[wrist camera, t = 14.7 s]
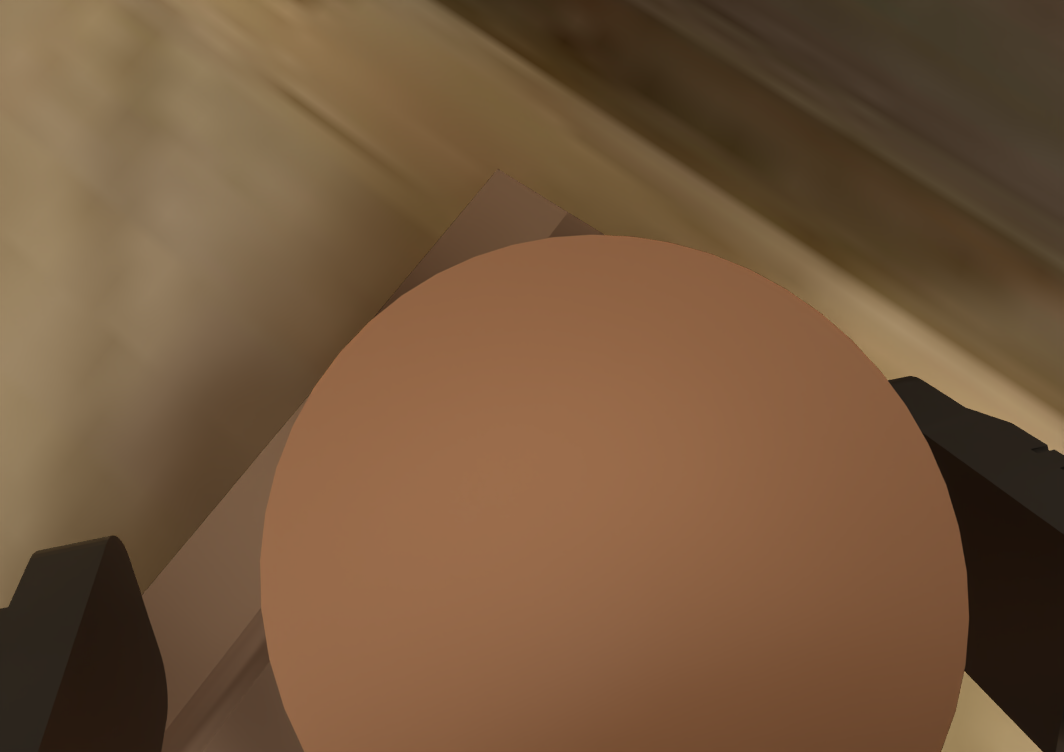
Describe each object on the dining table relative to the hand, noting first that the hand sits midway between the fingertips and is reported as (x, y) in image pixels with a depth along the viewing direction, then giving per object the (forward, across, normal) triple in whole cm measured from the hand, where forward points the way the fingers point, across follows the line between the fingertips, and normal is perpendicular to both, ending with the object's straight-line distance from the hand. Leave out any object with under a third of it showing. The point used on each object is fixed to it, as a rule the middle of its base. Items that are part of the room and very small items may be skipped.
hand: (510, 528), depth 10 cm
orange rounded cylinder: (+4, 0, +6) cm, 7 cm away
